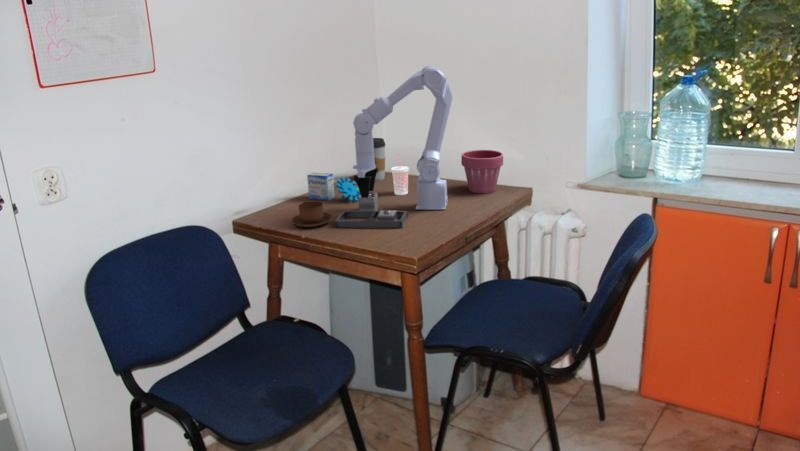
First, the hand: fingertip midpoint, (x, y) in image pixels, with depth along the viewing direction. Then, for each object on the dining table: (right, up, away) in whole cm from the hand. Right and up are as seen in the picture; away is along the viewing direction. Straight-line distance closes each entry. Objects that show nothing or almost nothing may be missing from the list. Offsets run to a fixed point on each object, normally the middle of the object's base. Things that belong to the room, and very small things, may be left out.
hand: (367, 194), depth 215 cm
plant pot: (+39, +2, +19) cm, 43 cm away
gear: (-6, -1, +16) cm, 17 cm away
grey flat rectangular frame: (+2, -9, -10) cm, 13 cm away
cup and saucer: (-17, -10, -8) cm, 21 cm away
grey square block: (0, -5, +2) cm, 6 cm away
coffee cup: (+1, +8, +41) cm, 42 cm away
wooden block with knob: (+7, -9, -10) cm, 15 cm away
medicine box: (-17, -1, +19) cm, 26 cm away
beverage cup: (+11, +1, +20) cm, 23 cm away
